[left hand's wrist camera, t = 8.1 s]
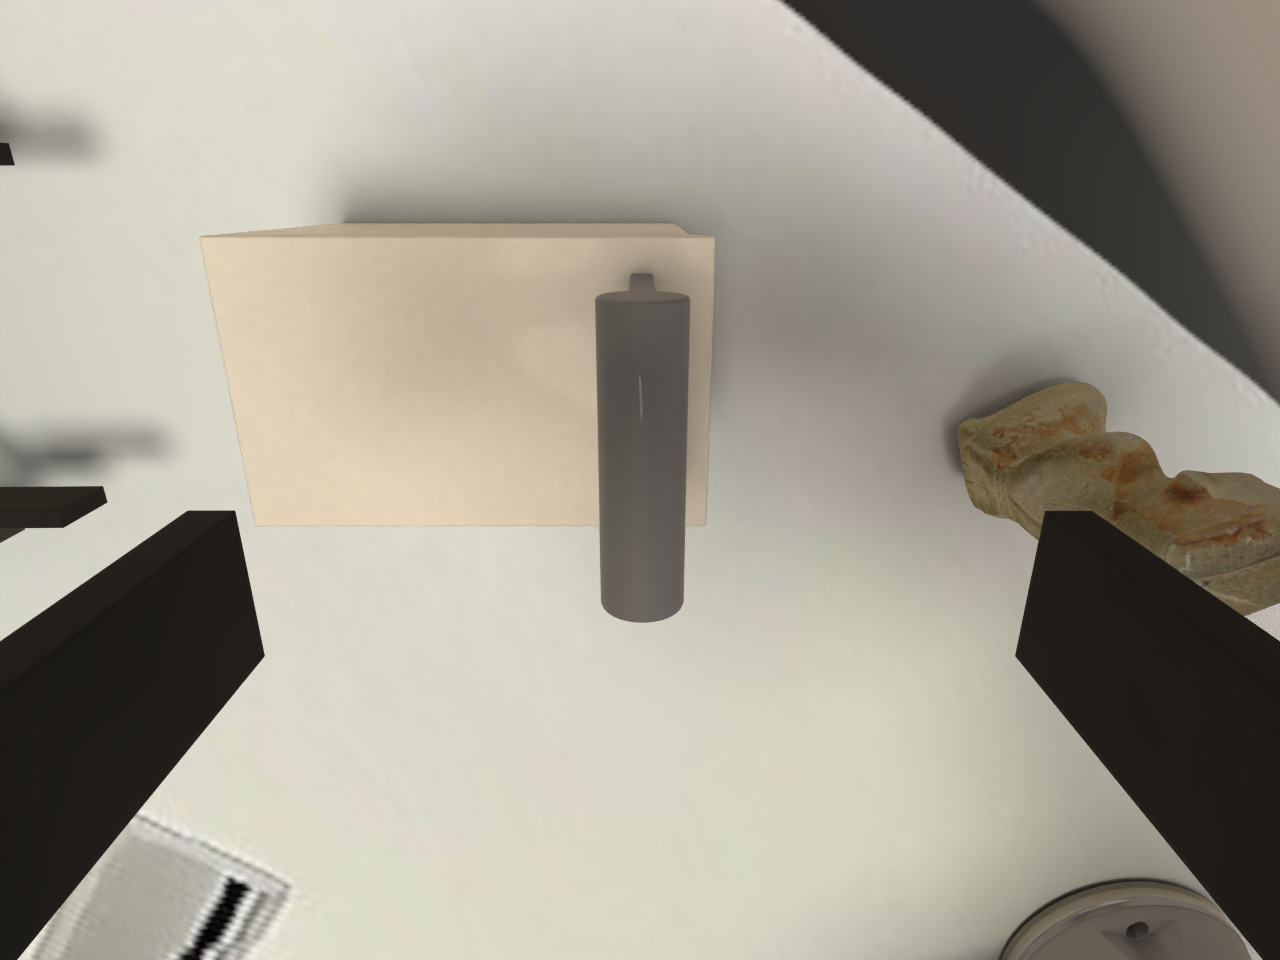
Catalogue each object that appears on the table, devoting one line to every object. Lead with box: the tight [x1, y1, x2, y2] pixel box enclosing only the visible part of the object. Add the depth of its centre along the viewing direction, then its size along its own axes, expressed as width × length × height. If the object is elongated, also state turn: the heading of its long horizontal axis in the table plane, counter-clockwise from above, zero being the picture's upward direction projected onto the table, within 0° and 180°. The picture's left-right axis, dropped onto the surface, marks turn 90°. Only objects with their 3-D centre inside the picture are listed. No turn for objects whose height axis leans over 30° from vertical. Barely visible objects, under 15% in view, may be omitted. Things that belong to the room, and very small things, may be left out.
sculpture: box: [957, 382, 1280, 616], centre depth 30 cm, size 6×7×15 cm
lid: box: [200, 235, 716, 623], centre depth 22 cm, size 16×10×9 cm, turn 90°
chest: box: [220, 223, 689, 235], centre depth 31 cm, size 15×10×11 cm, turn 90°
